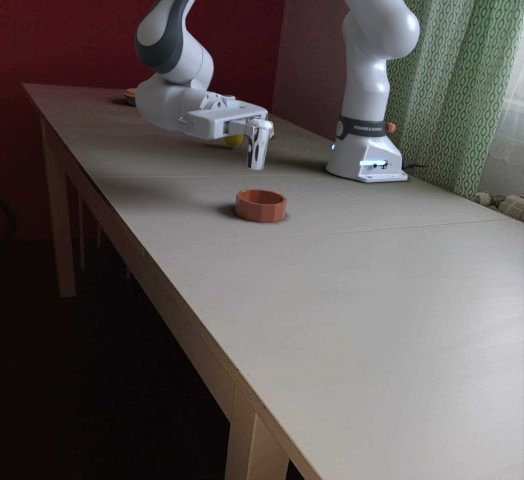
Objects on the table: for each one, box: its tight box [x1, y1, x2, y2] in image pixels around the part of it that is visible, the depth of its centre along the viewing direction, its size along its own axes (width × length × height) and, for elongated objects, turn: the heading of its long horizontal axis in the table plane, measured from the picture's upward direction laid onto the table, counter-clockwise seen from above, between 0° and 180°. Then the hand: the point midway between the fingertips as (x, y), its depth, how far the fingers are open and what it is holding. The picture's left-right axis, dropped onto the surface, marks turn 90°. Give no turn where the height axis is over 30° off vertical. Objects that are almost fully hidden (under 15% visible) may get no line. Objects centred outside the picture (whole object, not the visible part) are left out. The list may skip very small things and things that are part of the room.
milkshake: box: [245, 112, 272, 171], centre depth 104 cm, size 5×5×10 cm
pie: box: [122, 87, 137, 107], centre depth 197 cm, size 15×16×5 cm
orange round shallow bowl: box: [234, 188, 288, 223], centre depth 110 cm, size 10×10×4 cm
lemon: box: [223, 134, 244, 150], centre depth 154 cm, size 6×6×8 cm
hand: (263, 129), depth 102 cm, fingers closed on milkshake, 4 cm apart
